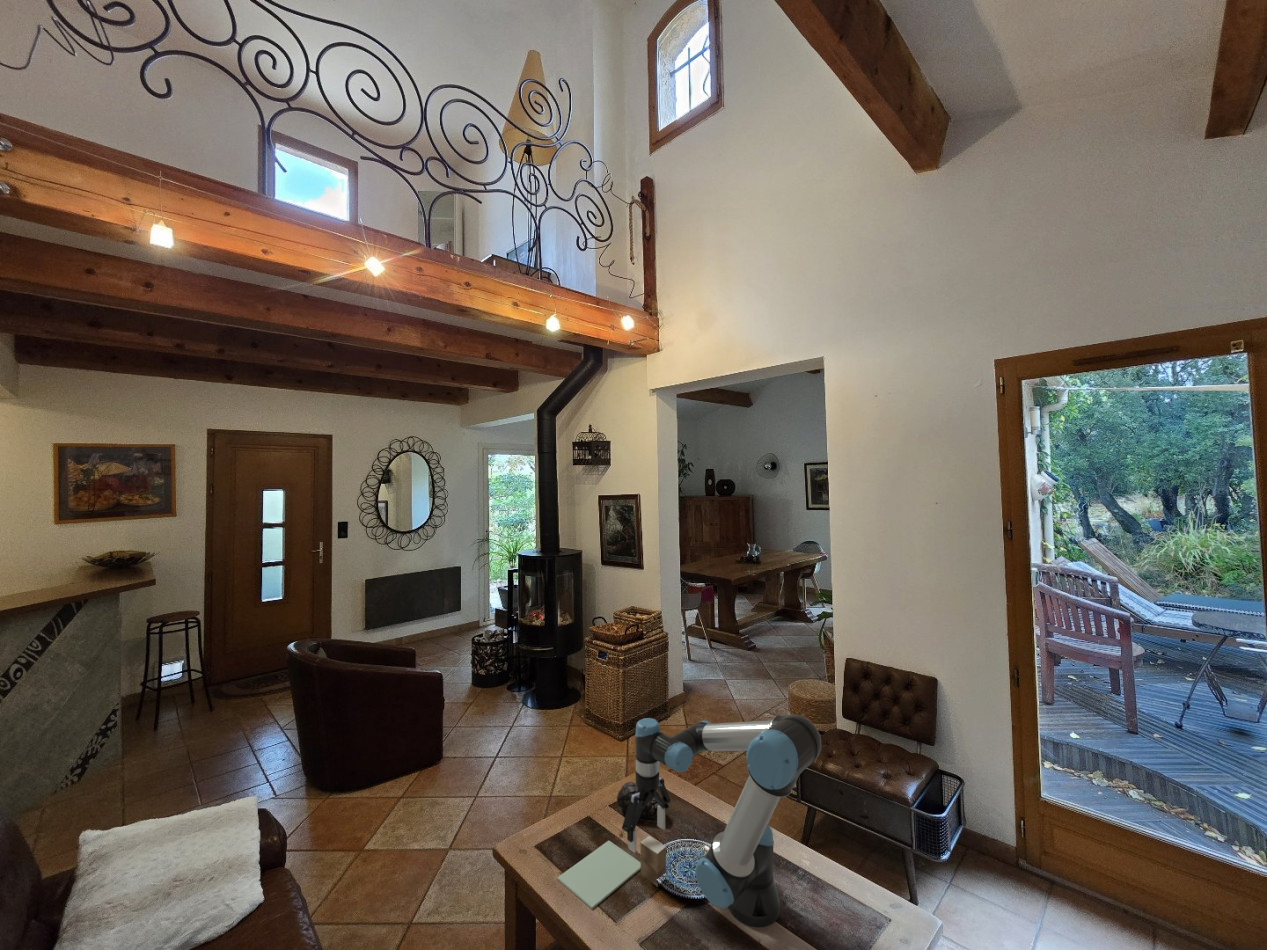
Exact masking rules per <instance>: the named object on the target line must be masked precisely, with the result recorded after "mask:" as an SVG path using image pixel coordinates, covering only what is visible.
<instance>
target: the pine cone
mask: <svg viewBox="0 0 1267 950" xmlns="http://www.w3.org/2000/svg"><path fill="white" fill-rule="evenodd" d="M637 789H638V788H637V785H636V782H634V781H628V782H625V783H624V784H623V785H622V786H621V788H620V789H619V790H618V794H617V796H616V802H617V805H618V806H619V813H620V814H621V815H623V816H625V815H626V812H627V808H628V805H629V799H630V794H631V793H632V794H636V793H637ZM639 803H641V804H643V803H642V802H641V801H640V800H639ZM658 805H660V804H659V803H658V802H657V801H656V800H655V799H654V798H653V800H652V801H649V803H647V804H646V807H645V808H644V809H643V810H642V813H641V815H640V818H639V820H638V821H643V822H651V823H657V806H658Z"/></svg>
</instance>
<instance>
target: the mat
mask: <svg viewBox="0 0 1267 950" xmlns="http://www.w3.org/2000/svg"><path fill="white" fill-rule="evenodd" d="M639 871H641V861H639V859H636V858H635V857H633V856H632V855H631V854H629V853H628V852H626V851H625V850H624V849H622V848H620V847H619V846H618V845H616V844H614V843H613V842H612V841H610V840H607V841H605V843H603V844H601V845H600V846H599V847H597V848H596V849H595V850H593V851H591V852H590V853H589V854H588V855H587V856H585V857H584V858H582V859H581V860H580V861H578V862H577V863H575V864H574V865H573V866H571V867H570V868H569V869H567V870H566V871H564V872H563V873H562V874H560V875H559V876H558V877H557V878H556V879H557V881H559V882H560V883H561V884H562V885H563V886H564V887H565V888H567V889H568V890H569V891H570V892H571V893H573V895H574V896H576V897H577V898H578V899H579V900H580V901H581V902H583V903H584V904H585V905H587V907H588V908H590V909H591V910H593V909H595V908H596V907H597V906H598V905H599V904H600V903H602V902H603V901H604V900H605V899H607V897H609V896H610V895H611V894H612V893H614V892H615V891H616V890H617V889H619V888H620V886H622V885H623V884H624V883H625V882H627V881H628V880H629V879H630V878H632V877H634V875H635V874H637V873H638V872H639Z"/></svg>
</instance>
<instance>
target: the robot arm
mask: <svg viewBox="0 0 1267 950" xmlns="http://www.w3.org/2000/svg"><path fill="white" fill-rule="evenodd" d="M634 737H635V783H636V785H637V788H638V789H637V793H636V794H632V793H631V794H630V799H629V805H628V808H627V812H626V815H624V819H623V823H622V826H621V829H622V830H623V831H624V832H626V836H627V837H626V839H627V841H628V843H627V845H628V846H627V848H628V850H630V851H631V852H632V853H634V854H635V853H637V829H636V828H637V824H638V822H639V821H640V820H639V818H640V815H641V813H642V810H643V809H644V808H645V807H646V804H647V803H649V801H652V800H653V798H654V799H655V800H656V801H657V802H658V803H659V804H660V805H658V806H657V822H656V823H657V824H656V826H657V827H658V828H660V829H661V830H663V831H664V830H666V816H667V810H668V809H669V807H670V805H669V804H670V803H671V798H670V795H669V792H668V790H667V788H666V785H665V779H664V778H663V777H660V770H661V769H660V764H662V765H664V766H666V767H667V768H668V769H671V770H674V771H676V772H678V773H685V772H686V771H688V769H689V767H690V766H691V765H692V762H693V757H695V756H696V755H697V754H700V753H701V752H718V751H719V752H720V751H721V752H722V751H723V752H724V751H725V752H728V751H729V752H741V751H745V752H746V755H745V756H746V762H747V764H746V765H747V767H746V768H747V773H748V777H747V780H746V782H745V784H744V785H743V788H742V791H741V793H740V795H739V798H738V800H737V802H736V804H735V807H734V808H733V811H732V812H731V816H730V818H729V819H728V822H727V824H726V826H725V828H724V831H721V832H719V833H717V834H716V835H715V836H714V838H713V840H712V842H711V845H710V847H709V849H708V850H707V853H706V854H705V855H704V856H701V858H699V860H698V861H697V862H696V865H695V873H694V874H695V878H696V881H697V884H698V887H699V889H700V891H701V892H702V894H703V896H704V897H705V898H706V899H707V901H708V902H709V903H711V904H712V906H714V907H715V908H718V909H726V908H727V909H728V910H729V911H730V912H731V914H732V915H733V916H734V917H735V918H736V919H737V920H738V921H740V922H741V923H743V924H744V925H745V924H746V925H748V926H751V927H758V928H759V927H768V926H771V925H772V924H773V923H776V921H777V920H778V919H779V917H780V914H781V897H780V895H779V892H778V890H777V889H778V888H777V886H776V883H775V878H774V871H775V870H774V869H775V868H774V864H775V863H774V860H775V859H774V844H775V841H774V835H773V830H772V828H771V826H770V825H769V823H770V821H771V818H772V816H773V814H774V812H775V809H776V808H777V806H778V804H779V802H780V800H781V798H786V797H788V796H789V795H790V794H791V793H792V791H793V789H794V786H795V785H796V783H797V781H798V779H799V777H800V775H801V774H802V773H803V771H804V770H806V769H807V768H808V767H809V766H810V765H812V764H813V763H814V762H815V761H816V760H817V759H818V757H819V756H820V754H821V751H822V738H821V734H820V732H819V729H818V728H817V726H816V725H815V724H814V723H813V722H812V721H811V719H808V718H807V717H805V716H803V715H799V714H784V715H776V716H774V717H773V718H772V719H770V720H769V719H768V720H755V721H751V720H750V721H737V722H735V721H734V722H719V723H712V722H710V721H708V720H700V721H698V722H695V723H694V724H693V725H691V726H689V727H687V728H685V729H684V730H682V731H680V732H678V733H676V734H674V735H673V736H669V735H667V734H665V733H664V732H662V731H661V728H660V723H659V721H658V720H657V719H655V718H651V717H647V718H646V717H644V718H642V719H639V720H638V721H637V722H636V725H635V734H634ZM657 790H658V791H659V793H658V791H657ZM639 800H640V801H641V802H642V803H643V804H641V803H639Z"/></svg>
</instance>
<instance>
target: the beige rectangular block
mask: <svg viewBox="0 0 1267 950" xmlns="http://www.w3.org/2000/svg"><path fill="white" fill-rule="evenodd" d="M640 863H641V869H640V875H641V877H643V878H644V879H646V880H647V881H649V882H650V883H652V884H653V885H654V886H656V887H657V888H658V887H659V886H658V883H657V882H656V880H655V879H658V878H659V877H661V876H662V875H663V874H665V873H666V874H667V846H666V845H664V844H663V843H661V842H660V841H658V840H656V839H655V838H653V837H651V836H650V835H648V836H647V837H645V838H644V839H643V840H642V841H640Z"/></svg>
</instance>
